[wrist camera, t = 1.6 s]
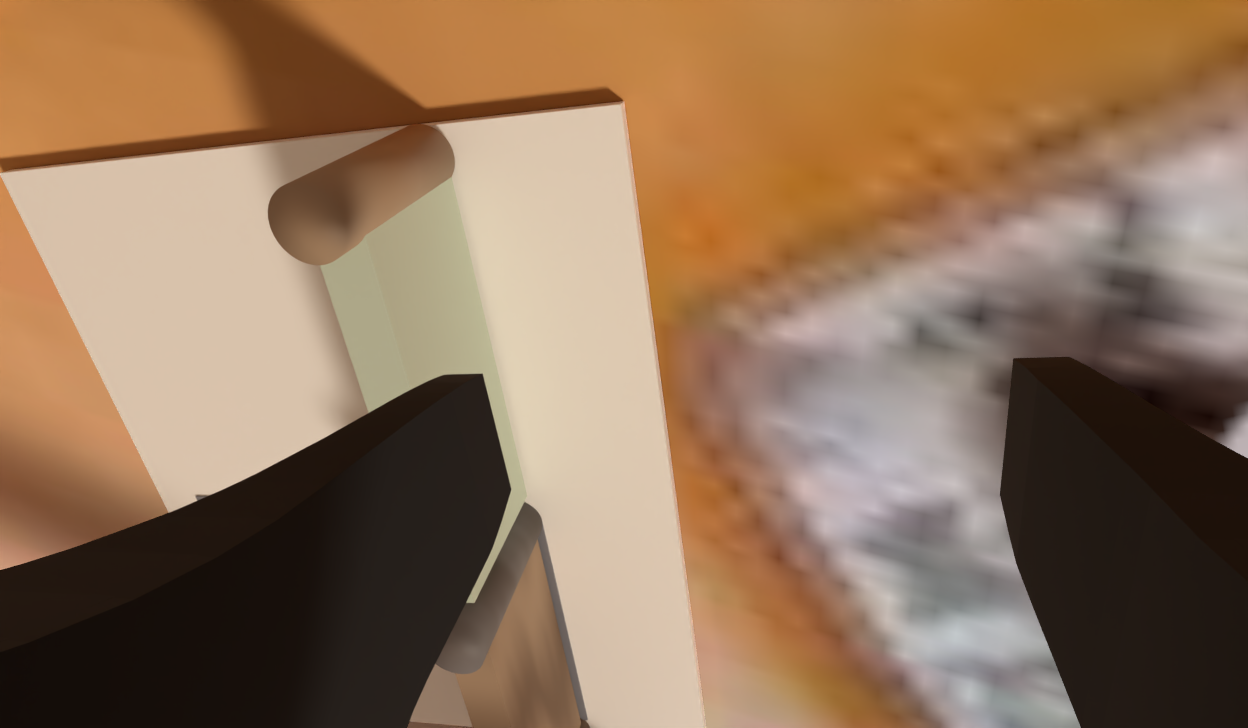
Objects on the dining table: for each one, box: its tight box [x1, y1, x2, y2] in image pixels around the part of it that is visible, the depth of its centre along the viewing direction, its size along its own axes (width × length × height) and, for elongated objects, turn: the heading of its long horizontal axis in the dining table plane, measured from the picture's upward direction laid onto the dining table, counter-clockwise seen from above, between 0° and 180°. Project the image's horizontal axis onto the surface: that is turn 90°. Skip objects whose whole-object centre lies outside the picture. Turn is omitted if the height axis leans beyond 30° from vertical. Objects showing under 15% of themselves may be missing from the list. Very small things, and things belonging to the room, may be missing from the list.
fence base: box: [436, 502, 590, 728], centre depth 24 cm, size 11×2×5 cm, turn 8°
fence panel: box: [268, 124, 527, 603], centre depth 19 cm, size 11×2×5 cm, turn 8°
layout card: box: [0, 101, 707, 728], centre depth 25 cm, size 22×18×1 cm
